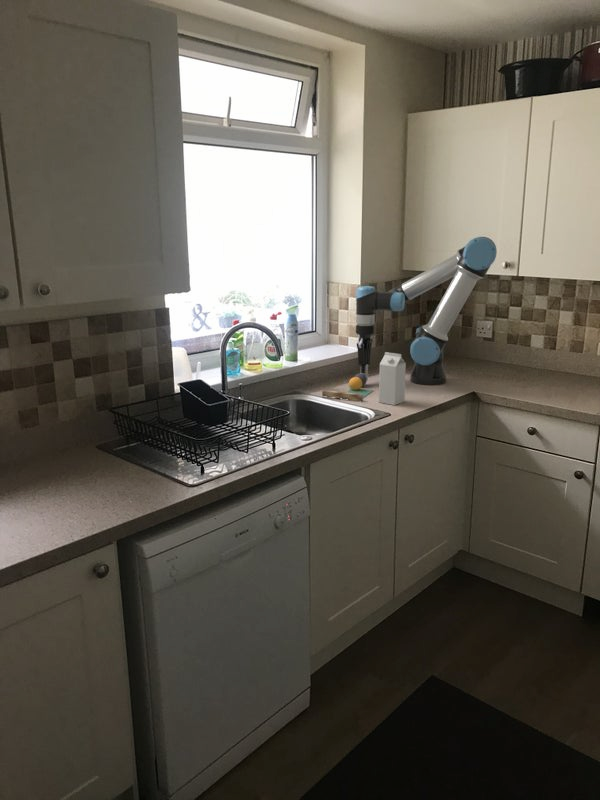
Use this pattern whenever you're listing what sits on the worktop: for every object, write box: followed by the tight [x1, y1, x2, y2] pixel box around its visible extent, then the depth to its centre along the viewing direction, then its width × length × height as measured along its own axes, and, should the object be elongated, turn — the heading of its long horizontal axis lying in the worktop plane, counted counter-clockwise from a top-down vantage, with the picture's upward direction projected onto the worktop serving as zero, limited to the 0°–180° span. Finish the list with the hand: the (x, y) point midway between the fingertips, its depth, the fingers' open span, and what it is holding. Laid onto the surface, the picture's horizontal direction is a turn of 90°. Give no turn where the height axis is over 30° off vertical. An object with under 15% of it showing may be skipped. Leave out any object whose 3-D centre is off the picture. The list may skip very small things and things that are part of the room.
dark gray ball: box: [354, 372, 368, 387], centre depth 273 cm, size 6×6×6 cm
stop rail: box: [321, 389, 364, 402], centre depth 255 cm, size 16×2×2 cm, turn 65°
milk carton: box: [378, 351, 407, 406], centre depth 247 cm, size 7×7×19 cm
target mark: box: [348, 387, 374, 399], centre depth 263 cm, size 14×14×1 cm
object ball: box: [348, 376, 363, 390], centre depth 267 cm, size 6×6×6 cm
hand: (364, 380), depth 276 cm, fingers closed
